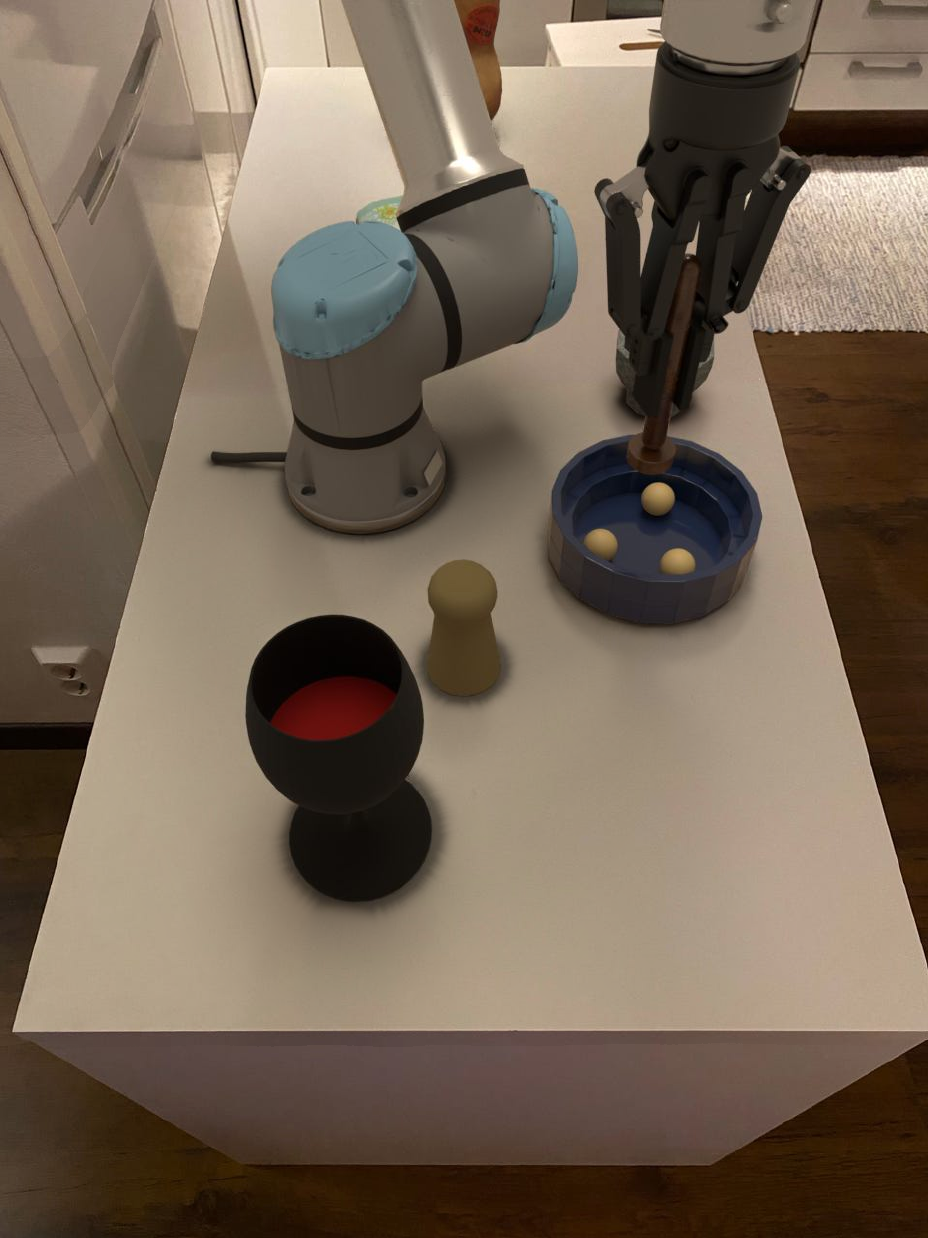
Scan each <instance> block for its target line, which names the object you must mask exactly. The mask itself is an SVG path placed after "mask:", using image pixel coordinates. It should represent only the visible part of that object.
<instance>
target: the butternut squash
mask: <svg viewBox="0 0 928 1238" xmlns="http://www.w3.org/2000/svg"><path fill="white" fill-rule="evenodd" d="M454 2H455V5H456V8H457V12H458V15H459V18H460V22H461V25H462V28H463V31H464V35H465V38H466V41H467V44H468V48H469V51H470V54H471V57H472V61H473V64H474V67H475V71H476V74H477V77H478V80H479V84H480V87H481V90H482V93H483V97H484V100H485V103H486V107H487V110H488V113H489V116H490V120H491V122H492V121H493V120H494V119H495V117H496V116H497V114H498V113H499V110H500V108H501V102H502V93H503V79H502V78H503V77H502V71H501V65H500V62H499V58H498V54H497V52H496V49H495V48H496V47H495V35H496V32H497V27H498V23H499V17H500V13H501V12H500V11H501V8H500V4H501V0H454Z"/></svg>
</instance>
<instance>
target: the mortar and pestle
mask: <svg viewBox="0 0 928 1238" xmlns="http://www.w3.org/2000/svg"><path fill="white" fill-rule="evenodd" d="M631 340H632V337H629V338H628V337H625V336H624V335H623V333H622V332H621V330H620V329H619V328H618V332H617V338H616V351H615V373H616V375H617V377H618V379H619V381H620V383H621V384H622V385H623V386H624V387H625V388H626V400H625V401H626V404H627V405H628V406H629V407H630V408H631V409H632V410H633V411H634V412H635V413H636V414H637V415H641V416H646V414H645V413H644V411H643V410H642V409H641V407H640V406H639V404H638V403H637V401H636V400H635V398H634V397H633V395H632V394H633V388H634V382H635V376H636V372H635V371H634V370H633V368H632V367H631V365H630V363H629V360H628V359H629V353H630V348H631V347H630V346H631ZM715 352H716V351H715V338H714V339H713V342H712V347H711V352H710V355H709V357H708V359H707V360H706V362H701V363H699V367H698V371H697V376H696V380H695V385H694V389H693V393H694V392H695V391H697V390H698V389H699V388H700V387H701V386H702V385H703V384H704V383H705V382H706V381H707V380H708V377H709V375H710V373H711V371H712V368H713V364H714V360H715V354H716V353H715ZM678 413H680V411H679V409H678V408H677V407H676V405H675V404H674V403H673V408H672V413H671V418H672V417H675V416H676V415H677V414H678Z"/></svg>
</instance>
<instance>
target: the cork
mask: <svg viewBox="0 0 928 1238" xmlns="http://www.w3.org/2000/svg"><path fill="white" fill-rule="evenodd" d="M426 590H427V600H428V601H427V602H428V605H429V606H430V609H431V611H432V612H433V621H432V628H431V635H430V642H429V649H428V655H427V662H426V667H427V674H428V676H429V678H430V680H431V682H432V684H433V685H435V686H436V687H437V688H438V689H439V690H440V691H443V692H444V693H447V694H449V695H453V696H457V697H467V696H470V697H471V696H474V695H478V694H480V693H483V692H485V691H486V690H488V689H490V688H491V687H492V686H493V685H494V684H495V682H496V681H497V679H498V678H499V675H500V673H501V672H500V671H501V667H502V666H501V665H502V664H501V659H500V653H499V648H498V644H497V638H496V633H495V628H494V627H495V626H494V623H493V617H492V612H493V611H494V609H495V607H496V603H497V600H498V586H497V582H496V579H495V578H494V576H493V573H491V571H490V570H488V569H487V567H485V566H484V565H483V564H482V563H479V562H477V561H475V560H471V559H470V560H469V559H454V560H452V561H447V562H446V563H444V564H443V565H441V566H439V567H438V568H437V569H436V570H435V571H434V573H433V574H432V575H431V576H430V579H429V583H428V586H427V588H426Z"/></svg>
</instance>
